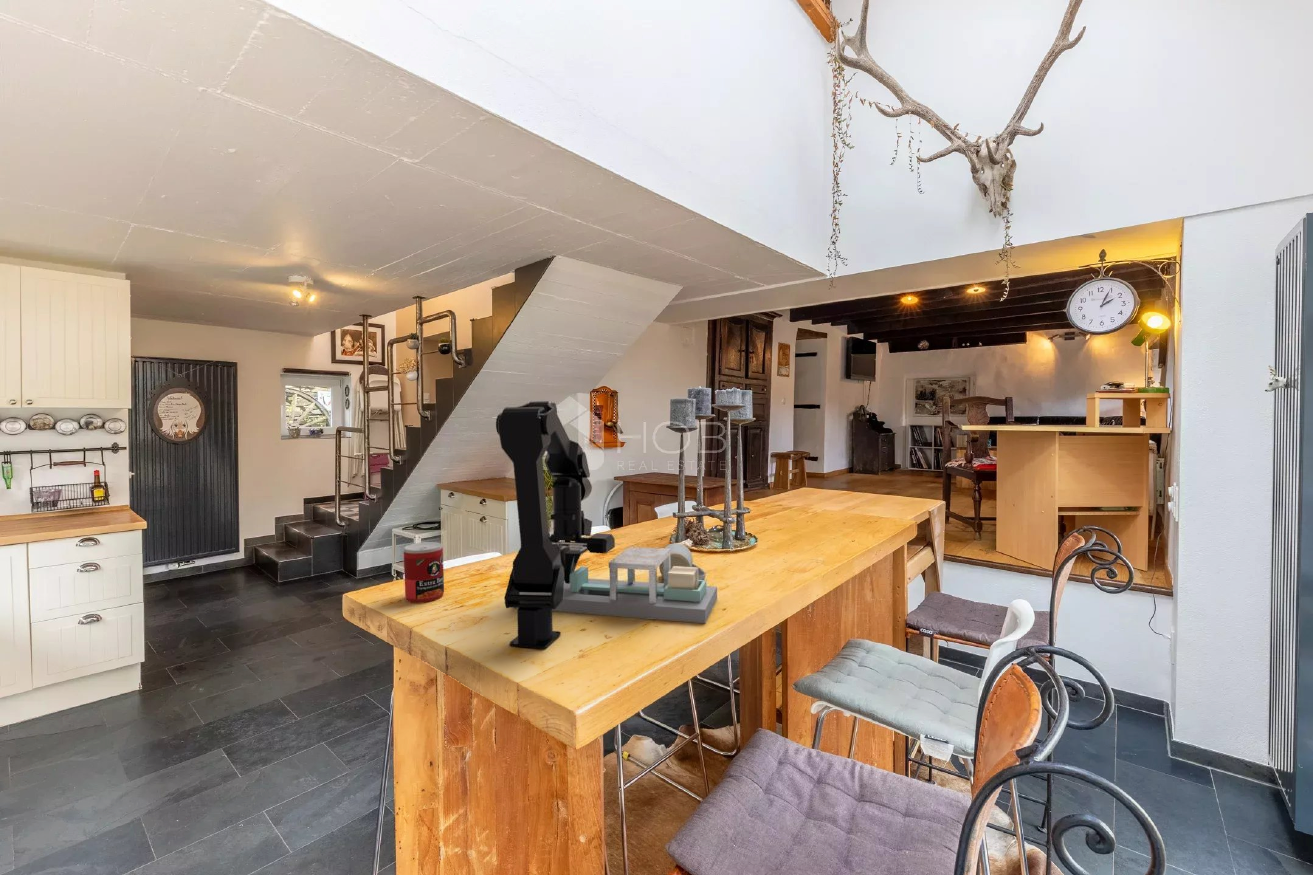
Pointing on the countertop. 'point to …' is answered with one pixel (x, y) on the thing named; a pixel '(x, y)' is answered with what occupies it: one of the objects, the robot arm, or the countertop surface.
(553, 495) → the robot arm
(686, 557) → the ceramic mug
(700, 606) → the slate deck
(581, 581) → the long teal base
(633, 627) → the countertop surface
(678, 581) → the beech block
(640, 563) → the grey stone table
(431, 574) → the canned food
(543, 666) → the countertop surface
